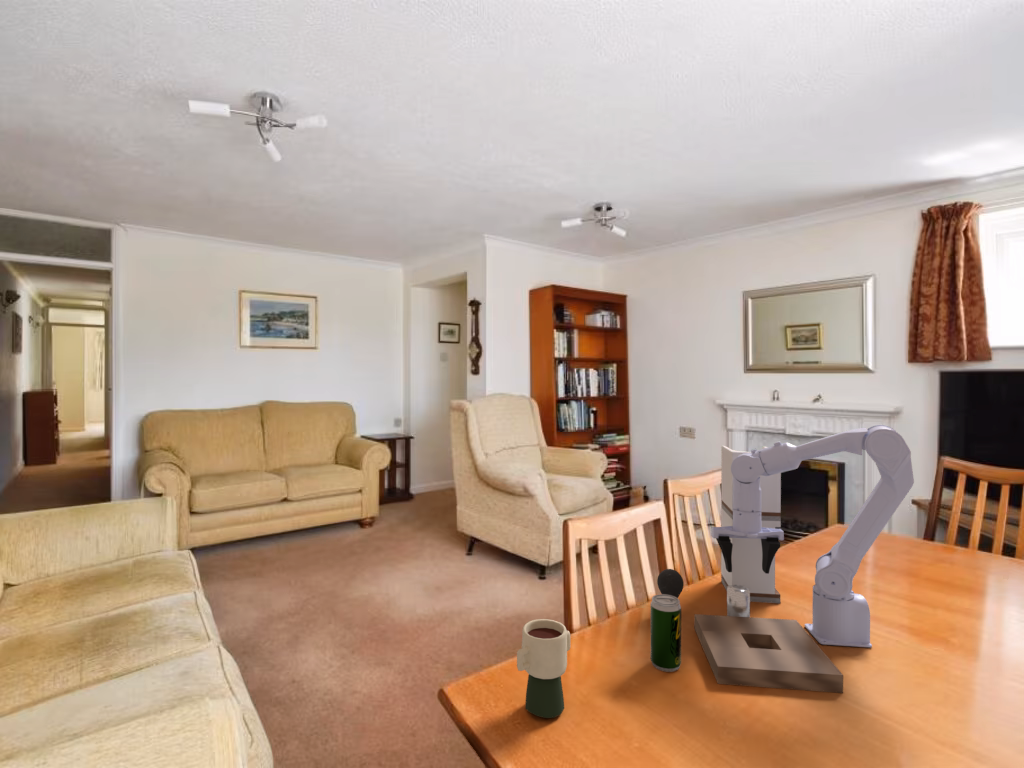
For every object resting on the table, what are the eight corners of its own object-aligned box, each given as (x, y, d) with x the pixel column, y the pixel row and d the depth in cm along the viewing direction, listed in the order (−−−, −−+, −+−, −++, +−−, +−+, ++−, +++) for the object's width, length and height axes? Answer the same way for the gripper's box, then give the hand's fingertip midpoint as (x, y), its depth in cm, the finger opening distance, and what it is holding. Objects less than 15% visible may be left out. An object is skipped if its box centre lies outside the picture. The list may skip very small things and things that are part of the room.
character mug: (555, 686, 90) (555, 611, 90) (585, 707, 84) (584, 627, 84) (503, 711, 84) (503, 630, 83) (532, 736, 78) (532, 648, 78)
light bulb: (685, 621, 114) (685, 575, 114) (658, 619, 115) (658, 573, 115) (682, 609, 119) (682, 566, 119) (656, 607, 120) (656, 564, 120)
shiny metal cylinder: (746, 616, 116) (746, 585, 116) (752, 626, 111) (752, 593, 111) (724, 615, 116) (724, 584, 116) (730, 625, 112) (730, 592, 112)
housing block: (796, 634, 108) (796, 619, 108) (843, 692, 88) (843, 675, 88) (694, 628, 111) (694, 614, 111) (717, 683, 91) (717, 666, 91)
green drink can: (649, 670, 95) (649, 604, 95) (651, 654, 100) (651, 592, 100) (681, 675, 94) (681, 607, 93) (681, 659, 99) (681, 595, 98)
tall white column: (780, 603, 122) (780, 453, 122) (732, 600, 124) (732, 452, 124) (765, 584, 134) (765, 446, 133) (721, 581, 136) (721, 445, 135)
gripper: (716, 513, 112) (717, 576, 112) (789, 514, 110) (789, 579, 110) (708, 504, 119) (709, 564, 119) (776, 506, 117) (777, 567, 117)
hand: (747, 571), depth 115 cm, fingers open, 7 cm apart
